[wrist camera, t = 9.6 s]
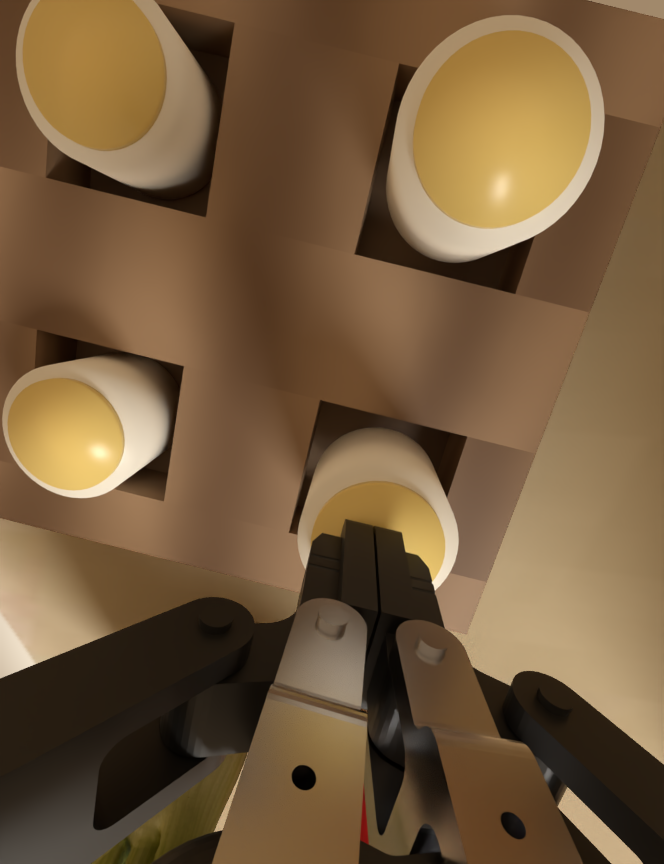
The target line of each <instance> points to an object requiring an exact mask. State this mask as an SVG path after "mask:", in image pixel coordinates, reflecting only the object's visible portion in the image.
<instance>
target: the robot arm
mask: <svg viewBox="0 0 664 864" xmlns="http://www.w3.org/2000/svg"><path fill="white" fill-rule="evenodd" d="M361 708H362V709H366V710H367V713H366V712H365V711H361ZM367 717H368V721H367ZM245 752H248V755H247V758H246V761H245V764H244V767H243V770H242V773H241V776H240V779H239V782H238V785H237V788H236V792H235V795H234V798H233V801H232V804H231V807H230V810H229V813H228V816H227V819H226V822H225V825H224V828H223V830H222V831H217V832H213V833H209V834H205V835H203V836H200V837H197V838H195V839H192V840H189V841H187V842H185V843H183V844H181V845H179V846H177V847H176V848H174V849H172V850H170V851H168V852H167V853H165V854H164V855H162V856H161V857H160V858H158V859H157V860H155V861H154V862H152V863H151V864H611V863H610V862H609V861H608V860H607V859H606V858H605V857H604V856H603V855H602V853H601V852H600V851H599V850H598V849H597V848H596V847H595V846H594V845H593V844H592V843H591V842H590V841H589V840H588V839H587V838H586V837H585V836H584V835H583V834H582V833H581V831H580V830H579V829H578V828H577V827H576V826H575V825H574V824H573V823H572V822H571V821H570V820H569V819H568V818H567V817H566V816H565V815H564V814H563V813H562V812H561V811H560V810H559V808H558V807H557V806H558V804H559V802H560V800H561V799H562V797H563V795H564V793H565V791H566V789H567V787H568V788H569V789H570V790H571V791H572V792H573V793H574V794H575V795H576V796H577V797H578V798H579V799H580V800H581V801H582V802H583V803H584V804H585V805H586V806H588V807H589V808H590V809H591V810H592V811H593V812H594V813H595V814H596V815H597V816H598V817H599V818H600V819H601V820H602V821H603V822H604V823H605V824H606V825H607V826H608V827H609V828H610V829H611V830H612V831H613V832H614V833H615V834H616V835H617V836H618V837H619V838H620V839H621V840H622V841H623V842H624V843H625V844H626V845H627V846H628V847H629V848H630V849H631V850H632V851H633V852H634V853H635V854H636V855H637V856H638V857H639V859H640V860H641V861H642V863H643V864H664V765H663V764H662V763H661V762H660V761H659V760H657V759H656V758H655V757H654V756H652V755H651V754H650V753H649V752H648V751H646V750H645V749H644V748H643V747H641V746H640V745H639V744H638V743H637V742H635V741H634V740H633V739H632V738H630V737H629V736H628V735H627V734H626V733H624V732H623V731H622V730H621V729H619V728H618V727H617V726H616V725H615V724H613V723H612V722H611V721H610V720H608V719H607V718H606V717H605V716H604V715H602V714H601V713H600V712H599V711H597V710H596V709H595V708H594V707H593V706H591V705H590V704H589V703H588V702H586V701H585V700H584V699H583V698H582V697H580V696H579V695H578V694H577V693H575V692H574V691H573V690H572V689H570V688H569V687H568V686H566V685H565V684H563V683H562V682H560V681H559V680H557V679H555V678H553V677H551V676H548V675H546V674H543V673H540V672H535V671H523V672H520V673H518V674H517V675H516V676H515V677H514V679H513V681H512V683H511V686H509V685H507V684H505V683H503V682H501V681H499V680H496V679H494V678H492V677H490V676H488V675H486V674H484V673H482V672H480V671H478V670H477V669H475V668H473V667H472V665H471V663H470V660H469V658H468V655H467V652H466V650H465V648H464V646H463V645H462V644H461V642H460V641H459V640H458V639H457V638H456V637H455V636H454V635H453V634H452V633H450V632H449V631H448V630H446V629H445V627H444V623H443V620H442V616H441V612H440V608H439V604H438V601H437V597H436V595H435V589H434V585H433V584H432V578H431V574H430V570H429V568H428V566H427V565H426V564H425V563H424V562H423V560H422V559H421V558H420V557H419V556H418V555H416V554H411V553H407V552H406V551H405V546H404V541H403V535H402V532H399V531H395V530H391V529H387V528H382V527H378V526H374V527H373V526H372V525H369V524H365V523H361V522H356V521H352V520H348V519H345V521H344V524H343V528H342V531H341V535H340V537H338V536H334V535H330V534H325V533H321V534H320V535H319V536H318V537H317V538H316V539H314V540H313V541H312V545H311V549H310V553H309V557H308V562H307V566H306V570H305V574H304V578H303V582H302V586H301V590H300V595H299V600H298V606H297V610H296V612H295V613H294V614H293V615H292V616H290V617H289V618H287V619H285V620H282V621H279V622H274V623H257V624H255V623H254V619H253V617H252V615H251V614H250V612H249V611H248V610H247V609H246V608H245V607H243V606H242V605H240V604H239V603H237V602H234V601H232V600H229V599H225V598H218V597H209V598H202V599H198V600H194V601H192V602H189V603H187V604H184V605H182V606H179V607H177V608H174V609H172V610H169V611H167V612H164V613H162V614H159V615H157V616H154V617H152V618H150V619H147V620H145V621H142V622H140V623H137V624H135V625H132V626H130V627H127V628H125V629H122V630H120V631H117V632H115V633H112V634H110V635H107V636H105V637H102V638H100V639H97V640H95V641H92V642H90V643H87V644H85V645H82V646H80V647H77V648H75V649H73V650H70V651H68V652H65V653H63V654H60V655H58V656H55V657H53V658H50V659H48V660H45V661H43V662H40V663H38V664H35V665H33V666H30V667H28V668H25V669H23V670H20V671H18V672H15V673H13V674H11V675H8V676H5V677H3V678H1V679H0V864H91V863H92V862H94V861H95V860H96V859H98V858H99V857H100V856H102V855H103V854H104V853H106V852H107V851H108V850H110V849H111V848H112V847H114V846H115V845H116V844H118V843H119V842H120V841H122V840H123V839H124V838H126V837H127V836H128V835H130V834H131V833H132V832H134V831H135V830H136V829H138V828H139V827H140V826H141V825H143V824H144V823H145V822H147V821H148V820H149V819H151V818H152V817H153V816H155V815H156V814H157V813H159V812H160V811H161V810H163V809H164V808H165V807H167V806H168V805H169V804H171V803H172V802H173V801H175V800H176V799H177V798H179V797H180V796H181V795H183V794H184V793H185V792H187V791H188V790H189V789H191V788H192V787H193V786H195V785H196V784H197V783H199V782H200V781H201V780H203V779H204V778H205V777H207V776H208V775H209V774H211V773H212V772H213V771H214V770H216V769H217V768H218V767H219V766H220V765H221V763H222V762H223V761H224V759H225V757H226V756H227V755H228V754H236V753H245ZM363 785H364V792H365V804H366V816H367V828H368V840H369V844H367V843H365V842H363V841H361V840H360V832H361V817H362V801H363Z"/></svg>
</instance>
